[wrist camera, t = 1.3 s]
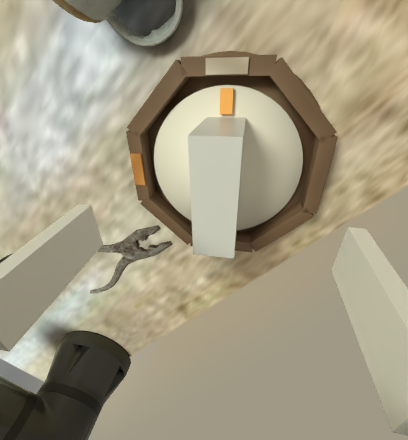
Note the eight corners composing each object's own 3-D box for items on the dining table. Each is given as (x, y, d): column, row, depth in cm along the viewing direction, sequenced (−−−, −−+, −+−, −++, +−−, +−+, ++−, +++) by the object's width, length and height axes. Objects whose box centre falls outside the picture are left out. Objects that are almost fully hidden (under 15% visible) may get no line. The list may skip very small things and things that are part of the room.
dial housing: (222, 257, 31) (219, 277, 27) (111, 156, 26) (91, 167, 23) (363, 167, 22) (381, 182, 19) (233, -11, 17) (229, -29, 14)
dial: (286, 230, 25) (298, 287, 18) (164, 220, 27) (135, 268, 20) (317, 84, 18) (356, 90, 11) (148, 85, 20) (96, 90, 13)
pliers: (46, 262, 37) (115, 189, 27) (50, 258, 38) (118, 186, 28) (96, 298, 40) (173, 243, 30) (99, 294, 40) (175, 239, 31)
